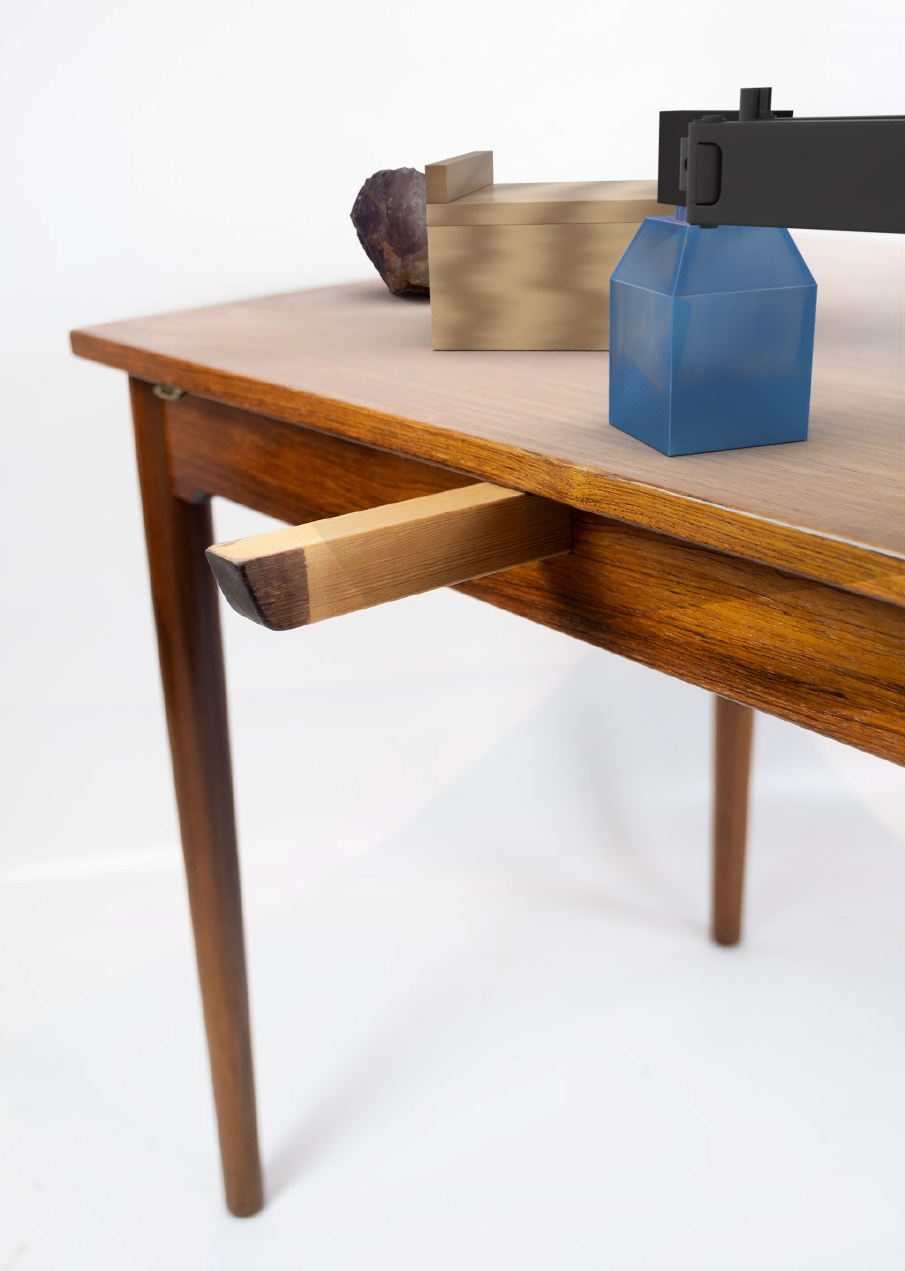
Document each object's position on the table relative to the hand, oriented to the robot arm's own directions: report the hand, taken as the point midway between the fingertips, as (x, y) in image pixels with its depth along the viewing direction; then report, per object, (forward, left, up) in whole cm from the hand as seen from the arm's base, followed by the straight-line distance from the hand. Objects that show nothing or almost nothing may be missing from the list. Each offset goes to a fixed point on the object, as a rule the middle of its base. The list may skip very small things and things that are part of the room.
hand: (857, 147), depth 44 cm
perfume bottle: (+5, -8, -12) cm, 15 cm away
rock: (+27, -48, -12) cm, 57 cm away
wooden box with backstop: (+13, -33, -12) cm, 38 cm away
